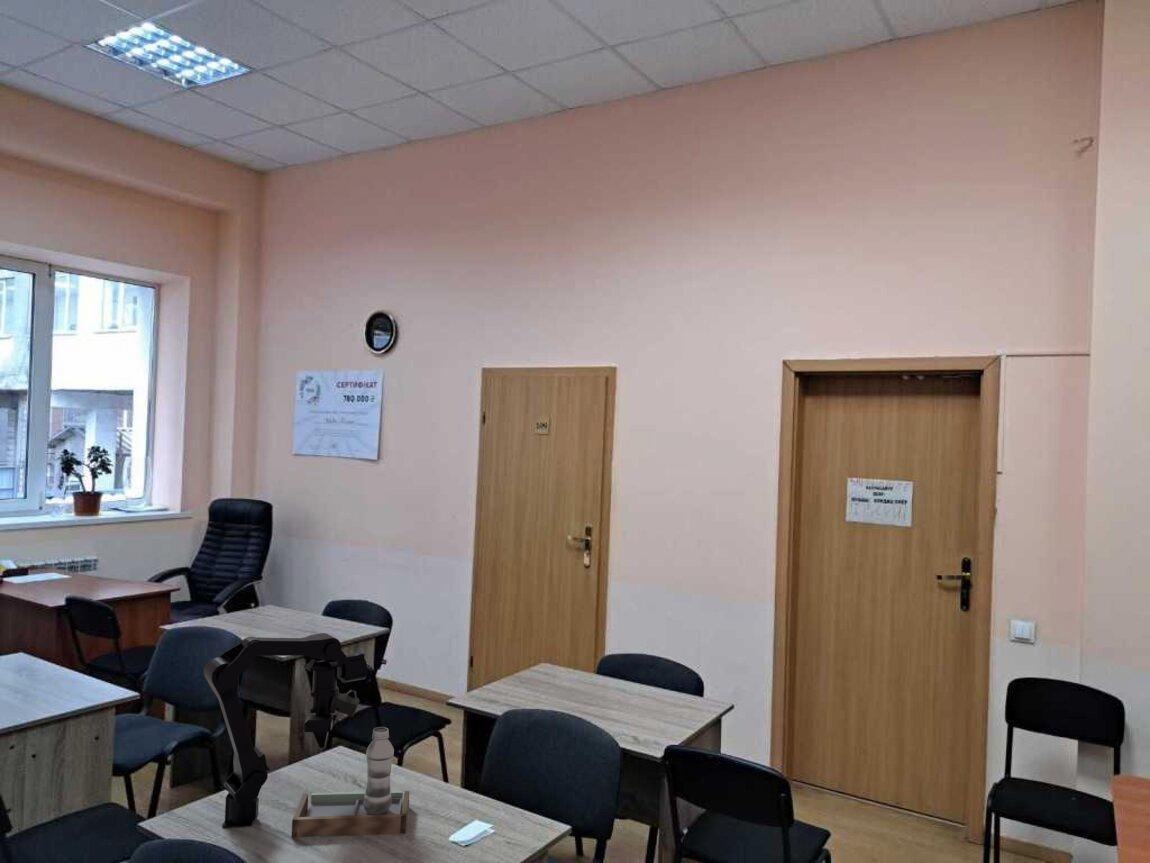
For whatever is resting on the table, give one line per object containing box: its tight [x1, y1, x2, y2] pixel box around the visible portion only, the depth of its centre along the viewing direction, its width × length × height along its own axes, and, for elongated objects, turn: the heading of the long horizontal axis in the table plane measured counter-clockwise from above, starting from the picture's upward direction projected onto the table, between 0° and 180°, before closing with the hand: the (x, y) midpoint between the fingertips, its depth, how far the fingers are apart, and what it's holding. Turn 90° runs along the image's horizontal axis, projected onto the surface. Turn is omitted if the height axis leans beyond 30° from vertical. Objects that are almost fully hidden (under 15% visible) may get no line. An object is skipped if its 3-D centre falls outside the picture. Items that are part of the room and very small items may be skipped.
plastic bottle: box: [363, 726, 395, 815], centre depth 193 cm, size 6×7×20 cm
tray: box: [305, 790, 404, 817], centre depth 192 cm, size 22×13×3 cm, turn 98°
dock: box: [291, 790, 410, 838], centre depth 190 cm, size 25×13×4 cm, turn 98°
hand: (322, 747), depth 200 cm, fingers closed
